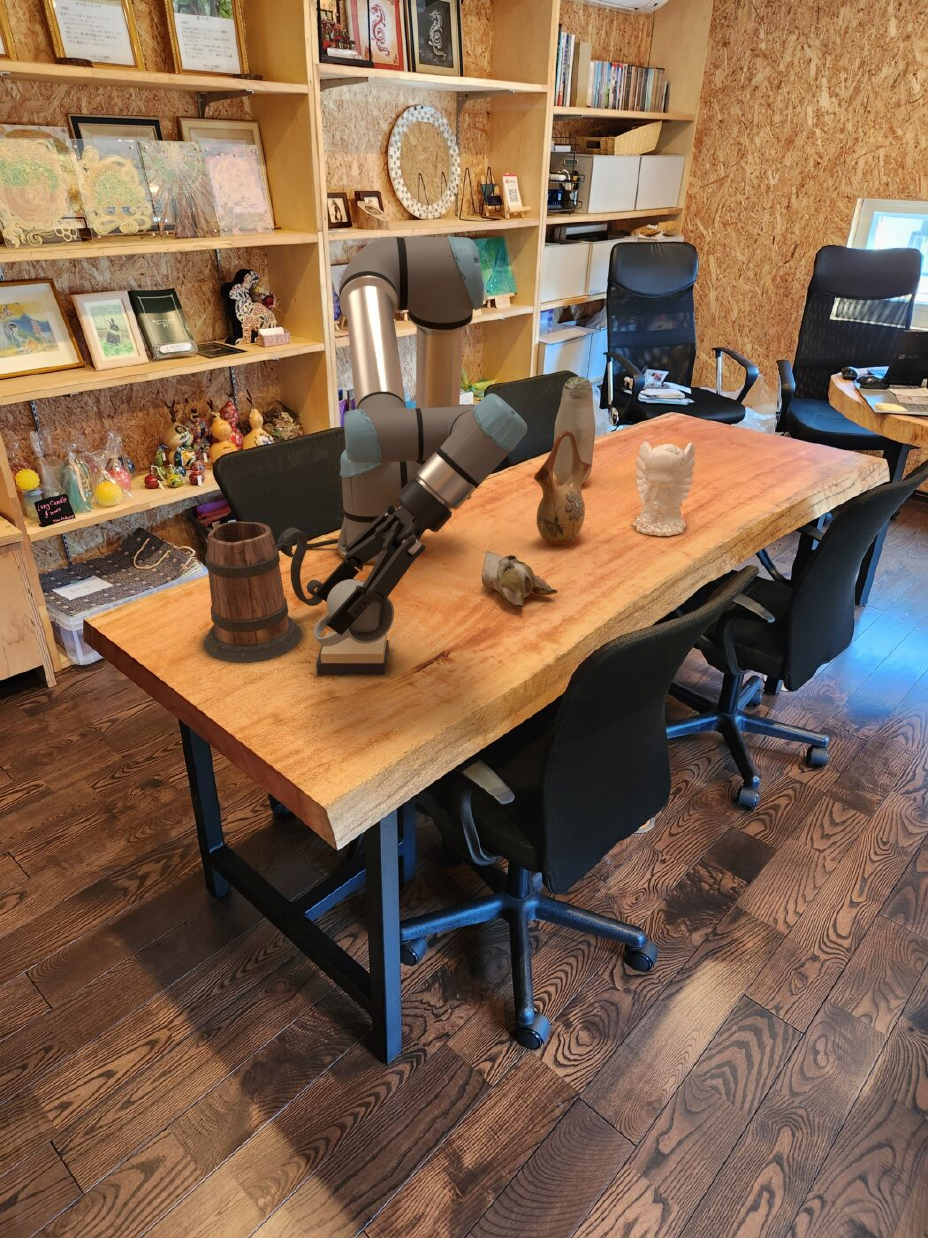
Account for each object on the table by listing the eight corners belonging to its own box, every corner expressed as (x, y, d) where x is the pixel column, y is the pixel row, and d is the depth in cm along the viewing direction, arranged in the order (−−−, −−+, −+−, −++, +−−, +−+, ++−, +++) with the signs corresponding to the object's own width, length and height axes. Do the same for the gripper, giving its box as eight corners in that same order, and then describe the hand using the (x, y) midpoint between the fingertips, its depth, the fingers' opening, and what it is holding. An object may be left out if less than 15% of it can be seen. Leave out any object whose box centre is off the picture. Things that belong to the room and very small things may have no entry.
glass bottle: (546, 481, 221) (551, 374, 208) (581, 477, 224) (588, 371, 210) (560, 493, 212) (567, 382, 199) (596, 489, 215) (606, 379, 202)
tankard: (234, 673, 134) (217, 560, 125) (186, 636, 145) (167, 529, 135) (351, 627, 148) (344, 522, 139) (300, 596, 159) (290, 497, 150)
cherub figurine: (623, 533, 188) (631, 446, 179) (631, 514, 199) (639, 432, 189) (681, 540, 184) (693, 452, 175) (687, 521, 195) (698, 437, 186)
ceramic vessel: (548, 558, 175) (555, 442, 164) (518, 546, 181) (522, 433, 170) (598, 538, 185) (608, 428, 173) (568, 527, 191) (575, 420, 179)
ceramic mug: (368, 614, 124) (365, 567, 121) (396, 635, 118) (393, 587, 115) (304, 634, 119) (298, 586, 115) (330, 658, 113) (324, 608, 109)
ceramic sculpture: (507, 535, 163) (563, 563, 153) (504, 574, 167) (558, 603, 158) (466, 550, 157) (522, 580, 147) (465, 590, 161) (519, 621, 152)
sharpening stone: (317, 675, 134) (315, 653, 132) (324, 650, 141) (322, 630, 139) (385, 675, 134) (384, 654, 132) (388, 650, 141) (388, 630, 139)
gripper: (477, 539, 106) (362, 664, 109) (432, 486, 124) (334, 595, 127) (437, 504, 102) (318, 635, 105) (396, 454, 120) (296, 568, 123)
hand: (327, 613), depth 116 cm, fingers closed on ceramic mug, 9 cm apart
